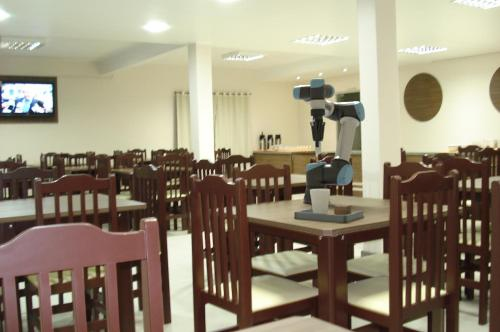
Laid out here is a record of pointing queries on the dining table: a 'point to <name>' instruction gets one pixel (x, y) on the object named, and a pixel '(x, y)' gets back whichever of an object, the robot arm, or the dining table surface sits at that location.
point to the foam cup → (320, 200)
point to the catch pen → (327, 216)
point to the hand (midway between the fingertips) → (318, 153)
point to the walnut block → (342, 209)
